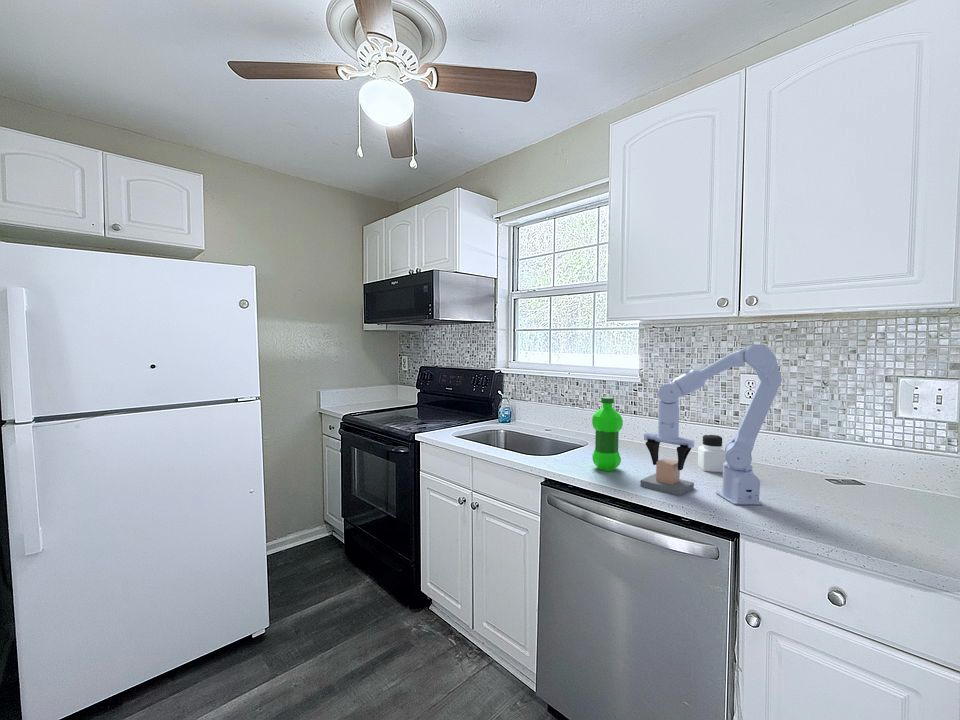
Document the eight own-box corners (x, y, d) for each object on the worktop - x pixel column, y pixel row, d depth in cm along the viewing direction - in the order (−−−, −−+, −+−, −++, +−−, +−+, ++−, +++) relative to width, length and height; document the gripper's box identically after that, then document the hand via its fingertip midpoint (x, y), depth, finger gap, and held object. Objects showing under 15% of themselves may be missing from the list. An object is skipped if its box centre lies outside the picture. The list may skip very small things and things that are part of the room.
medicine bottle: (726, 472, 147) (727, 438, 147) (703, 471, 149) (704, 437, 148) (719, 467, 154) (720, 433, 154) (697, 465, 156) (698, 432, 155)
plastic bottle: (585, 468, 152) (586, 397, 151) (602, 462, 159) (603, 395, 158) (610, 475, 144) (611, 400, 143) (627, 469, 151) (628, 397, 150)
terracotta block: (679, 481, 133) (679, 461, 132) (672, 484, 129) (672, 464, 129) (663, 477, 136) (663, 458, 136) (656, 480, 133) (656, 461, 133)
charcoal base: (693, 488, 132) (693, 482, 131) (680, 496, 125) (680, 490, 125) (655, 478, 140) (655, 473, 140) (640, 485, 133) (640, 480, 133)
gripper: (698, 424, 129) (697, 469, 130) (651, 418, 140) (650, 459, 140) (689, 427, 124) (688, 474, 125) (641, 420, 135) (640, 463, 135)
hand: (667, 466), depth 132 cm, fingers open, 7 cm apart
